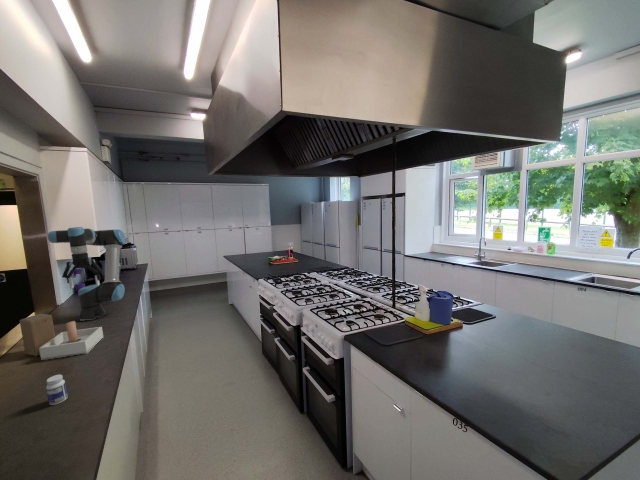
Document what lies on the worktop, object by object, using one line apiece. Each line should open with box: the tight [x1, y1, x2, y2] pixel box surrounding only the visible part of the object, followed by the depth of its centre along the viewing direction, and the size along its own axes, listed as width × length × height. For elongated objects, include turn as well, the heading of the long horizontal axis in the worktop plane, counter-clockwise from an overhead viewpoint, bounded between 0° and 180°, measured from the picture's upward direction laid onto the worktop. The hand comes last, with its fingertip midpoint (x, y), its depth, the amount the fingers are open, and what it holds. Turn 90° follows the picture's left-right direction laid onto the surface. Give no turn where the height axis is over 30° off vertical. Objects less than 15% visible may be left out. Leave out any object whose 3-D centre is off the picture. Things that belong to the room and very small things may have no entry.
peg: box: [65, 320, 78, 343], centre depth 160 cm, size 4×4×14 cm
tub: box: [39, 326, 104, 361], centre depth 161 cm, size 20×20×7 cm
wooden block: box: [19, 313, 56, 357], centre depth 158 cm, size 10×10×20 cm
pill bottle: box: [45, 374, 68, 406], centre depth 116 cm, size 6×6×10 cm
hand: (85, 286), depth 177 cm, fingers open, 13 cm apart
